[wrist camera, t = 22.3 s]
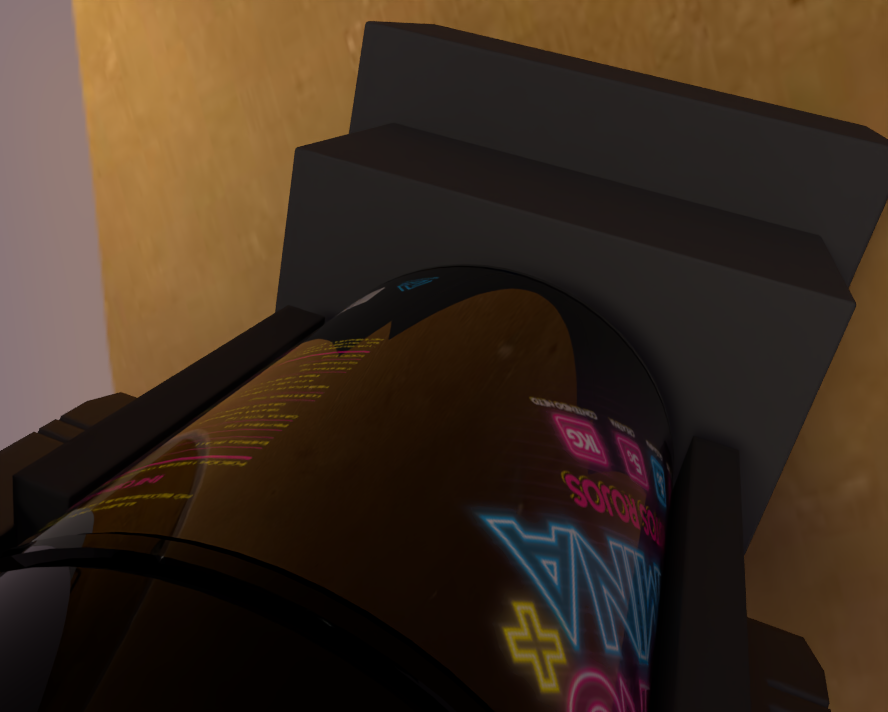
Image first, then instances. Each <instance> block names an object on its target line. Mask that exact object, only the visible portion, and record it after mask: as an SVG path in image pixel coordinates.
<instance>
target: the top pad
mask: <svg viewBox="0 0 888 712" xmlns="http://www.w3.org/2000/svg"><path fill="white" fill-rule="evenodd" d="M452 264H477V265H488V266H495V267H502V268H507V269H511V270H515V271H518V272H522V273H526V274H529V275H531V276H534V277H537V278H540V279H542V280H545V281H547V282H549V283H551V284H554V285H556V286H558V287H560V288H562V289H564V290H566V291H568V292H569V293H571V294H572V295H574V296H576V297H577V298H579V299H581V300H582V301H584V302H585V303H587V304H588V305H589V306H591V307H592V308H593V309H595V310H596V311H597V312H599V313H600V314H601V315H602V316H604V317H605V318H606V319H607V320H608V321H609V322H610V323H611V324H612V325H613V326H614V327H615V328H617V329H618V330H619V332H620V333H621V334H622V335H623V336H624V337H625V338H626V339H627V341H628V342H629V343H630V344H631V345H632V346H633V348H634V349H635V350H636V352H637V353H638V355H639V356H640V357H641V359H642V360H643V362H644V363H645V365H646V366H647V368H648V370H649V372H650V373H651V375H652V377H653V379H654V380H655V382H656V385H657V387H658V389H659V391H660V394H661V396H662V398H663V401H664V404H665V407H666V410H667V413H668V417H669V420H670V425H671V430H672V436H673V444H674V478H673V487H674V485H675V482H676V479H677V477H678V474H679V472H680V469H681V466H682V464H683V461H684V459H685V456H686V453H687V451H688V448H689V446H690V443H691V440H692V438H693V436H696V437H699V438H702V439H705V440H708V441H711V442H714V443H717V444H720V445H724V446H727V447H730V448H733V449H736V450H739V457H740V479H741V501H742V523H743V544H744V555H745V553H746V551H747V548H748V546H749V544H750V542H751V540H752V537H753V535H754V533H755V531H756V528H757V526H758V524H759V522H760V519H761V517H762V515H763V513H764V511H765V508H766V506H767V504H768V502H769V499H770V497H771V495H772V493H773V490H774V488H775V486H776V484H777V482H778V479H779V477H780V475H781V473H782V470H783V468H784V466H785V464H786V461H787V459H788V457H789V455H790V453H791V450H792V448H793V446H794V444H795V441H796V439H797V437H798V435H799V432H800V430H801V428H802V426H803V424H804V421H805V419H806V417H807V415H808V412H809V410H810V408H811V406H812V403H813V401H814V399H815V397H816V394H817V392H818V390H819V388H820V386H821V383H822V381H823V379H824V377H825V374H826V372H827V370H828V368H829V365H830V363H831V361H832V359H833V357H834V354H835V352H836V350H837V348H838V345H839V343H840V341H841V339H842V336H843V334H844V332H845V330H846V328H847V325H848V323H849V321H850V319H851V316H852V314H853V312H854V310H855V307H856V302H855V300H854V299H853V297H852V295H851V293H850V291H849V289H848V287H847V285H846V283H845V281H844V279H843V277H842V275H841V274H840V272H839V270H838V268H837V266H836V264H835V262H834V260H833V258H832V256H831V254H830V252H829V250H828V249H827V247H826V245H825V243H824V241H823V239H822V237H821V236H819V235H816V234H812V233H808V232H804V231H800V230H797V229H793V228H789V227H785V226H782V225H778V224H774V223H770V222H766V221H763V220H759V219H755V218H751V217H748V216H744V215H740V214H736V213H733V212H729V211H725V210H721V209H717V208H714V207H710V206H706V205H702V204H699V203H695V202H691V201H687V200H683V199H680V198H676V197H672V196H668V195H665V194H661V193H657V192H653V191H649V190H646V189H642V188H638V187H634V186H631V185H627V184H623V183H619V182H615V181H612V180H608V179H604V178H600V177H597V176H593V175H589V174H585V173H581V172H578V171H574V170H570V169H566V168H563V167H559V166H555V165H551V164H547V163H544V162H540V161H536V160H532V159H529V158H525V157H521V156H517V155H513V154H510V153H506V152H502V151H498V150H495V149H491V148H487V147H483V146H479V145H476V144H472V143H468V142H464V141H461V140H457V139H453V138H449V137H445V136H442V135H438V134H434V133H430V132H427V131H423V130H419V129H415V128H411V127H408V126H404V125H400V124H396V123H390V124H386V125H382V126H378V127H374V128H370V129H366V130H363V131H359V132H355V133H351V134H347V135H343V136H339V137H335V138H331V139H328V140H324V141H320V142H316V143H312V144H308V145H304V146H300V147H297V148H296V149H295V155H294V164H293V172H292V180H291V188H290V196H289V204H288V212H287V221H286V229H285V237H284V245H283V253H282V261H281V270H280V278H279V286H278V294H277V302H276V310H275V313H276V312H278V311H279V310H281V309H282V308H284V307H286V306H287V305H290V306H293V307H296V308H299V309H302V310H306V311H309V312H312V313H315V314H318V315H321V316H324V317H325V322H324V324H325V323H326V322H328V321H329V320H330V319H332V318H333V317H335V316H336V315H337V314H339V313H340V312H341V311H343V310H344V309H346V308H347V307H348V306H350V305H351V304H353V303H354V302H355V301H357V300H358V299H359V298H361V297H362V296H364V295H365V294H366V293H368V292H369V291H371V290H372V289H374V288H376V287H377V286H379V285H381V284H383V283H385V282H386V281H388V280H391V279H393V278H396V277H398V276H400V275H403V274H405V273H409V272H412V271H416V270H419V269H423V268H428V267H434V266H440V265H452ZM673 487H672V490H673Z"/></svg>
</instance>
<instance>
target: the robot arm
mask: <svg viewBox="0 0 888 712" xmlns="http://www.w3.org/2000/svg"><path fill="white" fill-rule="evenodd" d="M324 322H325V317H324V316H321V315H318V314H315V313H312V312H309V311H306V310H302V309H299V308H296V307H293V306H290V305H287V306H286V307H284V308H282V309H281V310H279V311H278V312H276V313H274V314H273V315H271V316H269V317H268V318H266V319H265V320H263V321H261V322H260V323H258V324H256V325H255V326H253V327H252V328H250V329H248V330H247V331H245V332H244V333H242V334H240V335H239V336H237V337H235V338H234V339H232V340H231V341H229V342H227V343H226V344H224V345H222V346H221V347H219V348H218V349H216V350H214V351H213V352H211V353H210V354H208V355H206V356H205V357H203V358H201V359H200V360H198V361H197V362H195V363H193V364H192V365H190V366H188V367H187V368H185V369H184V370H182V371H180V372H179V373H177V374H176V375H174V376H172V377H171V378H169V379H167V380H166V381H164V382H163V383H161V384H159V385H158V386H156V387H154V388H153V389H151V390H150V391H148V392H146V393H145V394H143V395H142V396H140V397H138V398H136V397H133V396H130V395H128V394H125V393H122V392H120V393H116V394H112V395H109V396H105V397H101V398H98V399H94V400H90V401H87V402H85V403H83V404H81V405H80V406H78V407H77V408H74V409H73V410H71V411H69V412H68V413H66V414H64V415H62V416H61V418H60V420H56V419H55V420H53V421H52V422H50V423H48V424H47V425H45V426H43V427H41V428H39V431H38V433H36V432H33V433H31V434H29V435H27V436H26V437H24V438H22V439H20V440H19V441H17V442H15V443H13V444H12V445H10V446H8V447H6V448H5V449H3V450H1V451H0V553H1V552H3V551H5V550H8V549H11V548H14V547H17V546H18V545H19V544H21V543H22V542H23V541H25V540H26V539H28V538H29V537H30V536H32V535H33V534H35V533H36V532H37V531H39V530H40V529H41V528H43V527H44V526H46V525H47V524H48V523H50V522H51V521H52V520H54V519H55V518H57V517H58V516H59V515H61V514H62V513H64V512H65V511H66V510H68V509H69V508H70V507H72V506H73V505H75V504H76V503H77V502H79V501H80V500H82V499H83V498H84V497H86V496H87V495H88V494H90V493H91V492H93V491H94V490H95V489H97V488H98V487H100V486H101V485H102V484H104V483H105V482H106V481H108V480H109V479H111V478H112V477H113V476H115V475H116V474H117V473H119V472H120V471H122V470H123V469H124V468H126V467H127V466H129V465H130V464H131V463H133V462H134V461H135V460H137V459H138V458H140V457H141V456H142V455H144V454H145V453H147V452H148V451H149V450H151V449H152V448H153V447H155V446H156V445H158V444H159V443H160V442H162V441H163V440H164V439H166V438H167V437H169V436H170V435H171V434H173V433H174V432H176V431H177V430H178V429H180V428H181V427H182V426H184V425H185V424H187V423H188V422H189V421H191V420H192V419H194V418H195V417H196V416H198V415H199V414H200V413H202V412H203V411H205V410H206V409H207V408H209V407H210V406H212V405H213V404H214V403H216V402H217V401H218V400H220V399H221V398H223V397H224V396H225V395H227V394H228V393H229V392H231V391H232V390H234V389H235V388H236V387H238V386H239V385H241V384H242V383H243V382H245V381H246V380H247V379H249V378H250V377H252V376H253V375H254V374H256V373H257V372H259V371H260V370H261V369H263V368H264V367H265V366H267V365H268V364H270V363H271V362H272V361H274V360H275V359H276V358H278V357H279V356H281V355H282V354H283V353H285V352H286V351H288V350H289V349H290V348H292V347H293V346H294V345H296V344H297V343H299V342H300V341H301V340H303V339H304V338H306V337H307V336H308V335H310V334H311V333H312V332H314V331H315V330H317V329H318V328H319V327H321V326H322V325H324ZM828 706H829V697H828V691H827V685H826V679H825V673H824V670H823V668H822V667H821V665H820V663H819V662H818V660H817V659H816V657H815V655H814V654H813V652H812V651H811V649H810V647H809V646H808V644H807V642H806V641H805V639H804V638H803V637H801V636H798V635H795V634H792V633H790V632H787V631H784V630H781V629H779V628H776V627H773V626H770V625H768V624H765V623H762V622H759V621H757V620H754V619H751V618H748V617H747V610H746V588H745V566H744V544H743V523H742V501H741V479H740V457H739V450H736V449H733V448H730V447H727V446H724V445H720V444H717V443H714V442H711V441H708V440H705V439H702V438H699V437H696V436H693V438H692V440H691V443H690V446H689V448H688V451H687V453H686V456H685V459H684V461H683V464H682V466H681V469H680V472H679V474H678V477H677V479H676V482H675V485H674V487H673V490H672V497H671V507H670V516H669V526H668V535H667V545H666V554H665V564H664V573H663V583H662V592H661V602H660V611H659V621H658V630H657V640H656V649H655V659H654V668H653V678H652V688H651V697H650V707H649V712H831V710H830V709H828Z"/></svg>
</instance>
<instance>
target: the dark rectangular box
mask: <svg viewBox="0 0 888 712" xmlns="http://www.w3.org/2000/svg"><path fill="white" fill-rule="evenodd" d="M390 123H396V124H400V125H404V126H408V127H411V128H415V129H419V130H423V131H427V132H430V133H434V134H438V135H442V136H445V137H449V138H453V139H457V140H461V141H464V142H468V143H472V144H476V145H479V146H483V147H487V148H491V149H495V150H498V151H502V152H506V153H510V154H513V155H517V156H521V157H525V158H529V159H532V160H536V161H540V162H544V163H547V164H551V165H555V166H559V167H563V168H566V169H570V170H574V171H578V172H581V173H585V174H589V175H593V176H597V177H600V178H604V179H608V180H612V181H615V182H619V183H623V184H627V185H631V186H634V187H638V188H642V189H646V190H649V191H653V192H657V193H661V194H665V195H668V196H672V197H676V198H680V199H683V200H687V201H691V202H695V203H699V204H702V205H706V206H710V207H714V208H717V209H721V210H725V211H729V212H733V213H736V214H740V215H744V216H748V217H751V218H755V219H759V220H763V221H766V222H770V223H774V224H778V225H782V226H785V227H789V228H793V229H797V230H800V231H804V232H808V233H812V234H816V235H819V236H821V237H822V239H823V241H824V243H825V245H826V247H827V249H828V250H829V252H830V254H831V256H832V258H833V260H834V262H835V264H836V266H837V268H838V270H839V272H840V274H841V275H842V277H843V279H844V281H845V283H846V285H847V287H848V288H849V286H850V283H851V281H852V279H853V277H854V274H855V272H856V270H857V267H858V265H859V263H860V261H861V258H862V256H863V254H864V252H865V249H866V247H867V245H868V242H869V240H870V238H871V236H872V233H873V231H874V229H875V226H876V224H877V222H878V220H879V217H880V215H881V213H882V211H883V208H884V206H885V204H886V201H887V199H888V139H886V138H885V137H883V136H881V135H880V134H878V133H876V132H875V131H873V130H871V129H870V128H868V127H866V126H863V125H859V124H855V123H850V122H846V121H842V120H838V119H833V118H829V117H825V116H821V115H816V114H812V113H808V112H804V111H799V110H795V109H791V108H787V107H782V106H778V105H774V104H770V103H766V102H761V101H757V100H753V99H749V98H744V97H740V96H736V95H732V94H727V93H723V92H719V91H715V90H710V89H706V88H702V87H698V86H693V85H689V84H685V83H681V82H677V81H672V80H668V79H664V78H660V77H655V76H651V75H647V74H643V73H638V72H634V71H630V70H626V69H621V68H617V67H613V66H609V65H604V64H600V63H596V62H592V61H588V60H583V59H579V58H575V57H571V56H566V55H562V54H558V53H554V52H549V51H545V50H541V49H537V48H532V47H528V46H524V45H520V44H515V43H511V42H507V41H503V40H499V39H494V38H490V37H486V36H482V35H477V34H473V33H469V32H465V31H460V30H456V29H452V28H448V27H443V26H439V25H435V24H417V23H397V22H377V21H368V22H366V24H365V30H364V36H363V43H362V50H361V56H360V63H359V70H358V77H357V83H356V90H355V97H354V103H353V110H352V117H351V124H350V130H349V134H351V133H355V132H359V131H363V130H366V129H370V128H374V127H378V126H382V125H386V124H390Z"/></svg>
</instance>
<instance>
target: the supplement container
mask: <svg viewBox="0 0 888 712" xmlns="http://www.w3.org/2000/svg"><path fill="white" fill-rule="evenodd" d="M673 478H674V444H673V436H672V430H671V425H670V420H669V417H668V413H667V410H666V407H665V404H664V401H663V398H662V396H661V394H660V391H659V389H658V387H657V385H656V382H655V380H654V379H653V377H652V375H651V373H650V372H649V370H648V368H647V366H646V365H645V363H644V362H643V360H642V359H641V357H640V356H639V355H638V353H637V352H636V350H635V349H634V348H633V346H632V345H631V344H630V343H629V342H628V341H627V339H626V338H625V337H624V336H623V335H622V334H621V333H620V332H619V330H618V329H617V328H615V327H614V326H613V325H612V324H611V323H610V322H609V321H608V320H607V319H606V318H605V317H604V316H602V315H601V314H600V313H599V312H597V311H596V310H595V309H593V308H592V307H591V306H589V305H588V304H587V303H585V302H584V301H582V300H581V299H579V298H577V297H576V296H574V295H572V294H571V293H569V292H568V291H566V290H564V289H562V288H560V287H558V286H556V285H554V284H551V283H549V282H547V281H545V280H542V279H540V278H537V277H534V276H531V275H529V274H526V273H522V272H518V271H515V270H511V269H507V268H502V267H495V266H488V265H477V264H452V265H440V266H434V267H428V268H423V269H419V270H416V271H412V272H409V273H405V274H403V275H400V276H398V277H396V278H393V279H391V280H388V281H386V282H385V283H383V284H381V285H379V286H377V287H376V288H374V289H372V290H371V291H369V292H368V293H366V294H365V295H364V296H362V297H361V298H359V299H358V300H357V301H355V302H354V303H353V304H351V305H350V306H348V307H347V308H346V309H344V310H343V311H341V312H340V313H339V314H337V315H336V316H335V317H333V318H332V319H330V320H329V321H328V322H326V323H325V324H324V325H322V326H321V327H319V328H318V329H317V330H315V331H314V332H312V333H311V334H310V335H308V336H307V337H306V338H304V339H303V340H301V341H300V342H299V343H297V344H296V345H294V346H293V347H292V348H290V349H289V350H288V351H286V352H285V353H283V354H282V355H281V356H279V357H278V358H276V359H275V360H274V361H272V362H271V363H270V364H268V365H267V366H265V367H264V368H263V369H261V370H260V371H259V372H257V373H256V374H254V375H253V376H252V377H250V378H249V379H247V380H246V381H245V382H243V383H242V384H241V385H239V386H238V387H236V388H235V389H234V390H232V391H231V392H229V393H228V394H227V395H225V396H224V397H223V398H221V399H220V400H218V401H217V402H216V403H214V404H213V405H212V406H210V407H209V408H207V409H206V410H205V411H203V412H202V413H200V414H199V415H198V416H196V417H195V418H194V419H192V420H191V421H189V422H188V423H187V424H185V425H184V426H182V427H181V428H180V429H178V430H177V431H176V432H174V433H173V434H171V435H170V436H169V437H167V438H166V439H164V440H163V441H162V442H160V443H159V444H158V445H156V446H155V447H153V448H152V449H151V450H149V451H148V452H147V453H145V454H144V455H142V456H141V457H140V458H138V459H137V460H135V461H134V462H133V463H131V464H130V465H129V466H127V467H126V468H124V469H123V470H122V471H120V472H119V473H117V474H116V475H115V476H113V477H112V478H111V479H109V480H108V481H106V482H105V483H104V484H102V485H101V486H100V487H98V488H97V489H95V490H94V491H93V492H91V493H90V494H88V495H87V496H86V497H84V498H83V499H82V500H80V501H79V502H77V503H76V504H75V505H73V506H72V507H70V508H69V509H68V510H66V511H65V512H64V513H62V514H61V515H59V516H58V517H57V518H55V519H54V520H52V521H51V522H50V523H48V524H47V525H46V526H44V527H43V528H41V529H40V530H39V531H37V532H36V533H35V534H33V535H32V536H30V537H29V538H28V539H26V540H25V541H23V542H22V543H21V544H19V545H18V546H17V547H14V548H11V549H8V550H5V551H3V552H1V553H0V712H649V707H650V697H651V688H652V678H653V668H654V659H655V649H656V640H657V630H658V621H659V611H660V602H661V592H662V583H663V573H664V564H665V554H666V545H667V535H668V526H669V516H670V507H671V497H672V487H673Z"/></svg>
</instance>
